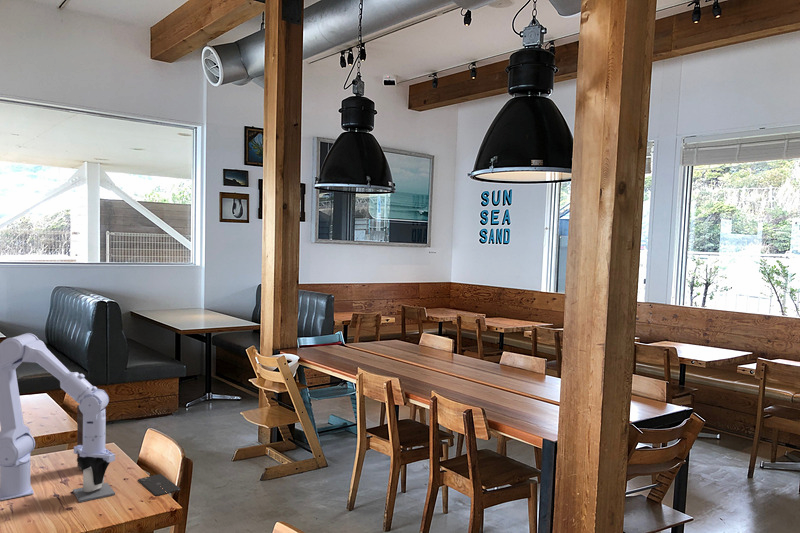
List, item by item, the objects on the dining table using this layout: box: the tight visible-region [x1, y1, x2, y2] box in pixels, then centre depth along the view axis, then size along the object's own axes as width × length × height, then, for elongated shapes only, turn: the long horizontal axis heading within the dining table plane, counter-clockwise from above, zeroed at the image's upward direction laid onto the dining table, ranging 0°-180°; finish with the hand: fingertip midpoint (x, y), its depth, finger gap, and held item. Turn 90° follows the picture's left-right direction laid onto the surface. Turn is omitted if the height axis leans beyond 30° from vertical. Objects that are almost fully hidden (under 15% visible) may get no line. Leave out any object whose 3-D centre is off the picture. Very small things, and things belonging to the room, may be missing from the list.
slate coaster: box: [72, 482, 116, 503], centre depth 175 cm, size 9×9×1 cm
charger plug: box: [82, 467, 105, 492], centre depth 175 cm, size 3×6×7 cm, turn 154°
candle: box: [76, 404, 103, 471], centre depth 193 cm, size 8×7×20 cm
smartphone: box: [137, 473, 181, 497], centre depth 182 cm, size 7×1×15 cm
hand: (93, 482), depth 175 cm, fingers closed on charger plug, 3 cm apart
